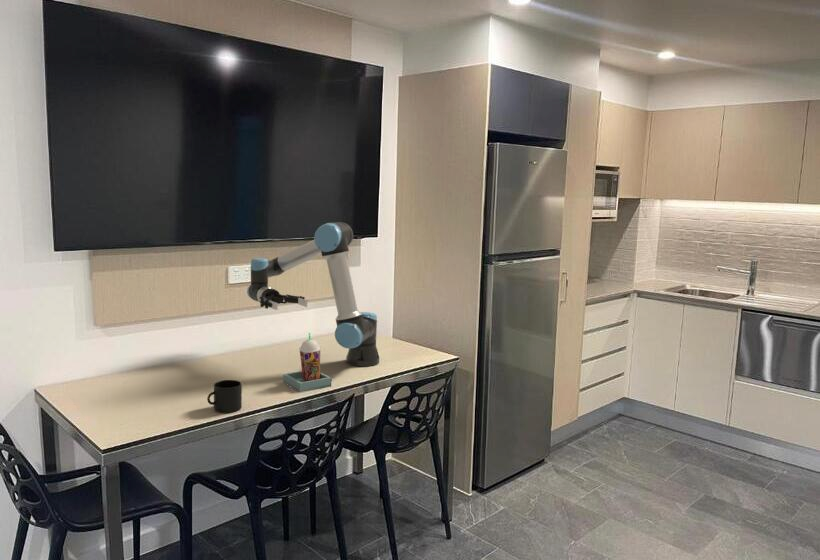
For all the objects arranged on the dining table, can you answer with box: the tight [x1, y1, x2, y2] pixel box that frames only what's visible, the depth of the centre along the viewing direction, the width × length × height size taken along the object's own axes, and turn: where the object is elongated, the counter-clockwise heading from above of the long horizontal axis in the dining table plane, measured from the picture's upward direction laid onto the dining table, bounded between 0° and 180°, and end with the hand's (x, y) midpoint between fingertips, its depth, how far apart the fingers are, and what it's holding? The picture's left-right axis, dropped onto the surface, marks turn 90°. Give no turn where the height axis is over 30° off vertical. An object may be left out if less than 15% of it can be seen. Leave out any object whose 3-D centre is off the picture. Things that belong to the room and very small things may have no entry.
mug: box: [206, 379, 243, 414], centre depth 219 cm, size 9×12×9 cm
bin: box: [282, 370, 332, 393], centre depth 250 cm, size 14×14×4 cm
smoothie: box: [299, 332, 321, 382], centre depth 250 cm, size 8×8×20 cm
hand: (291, 305), depth 256 cm, fingers open, 13 cm apart
